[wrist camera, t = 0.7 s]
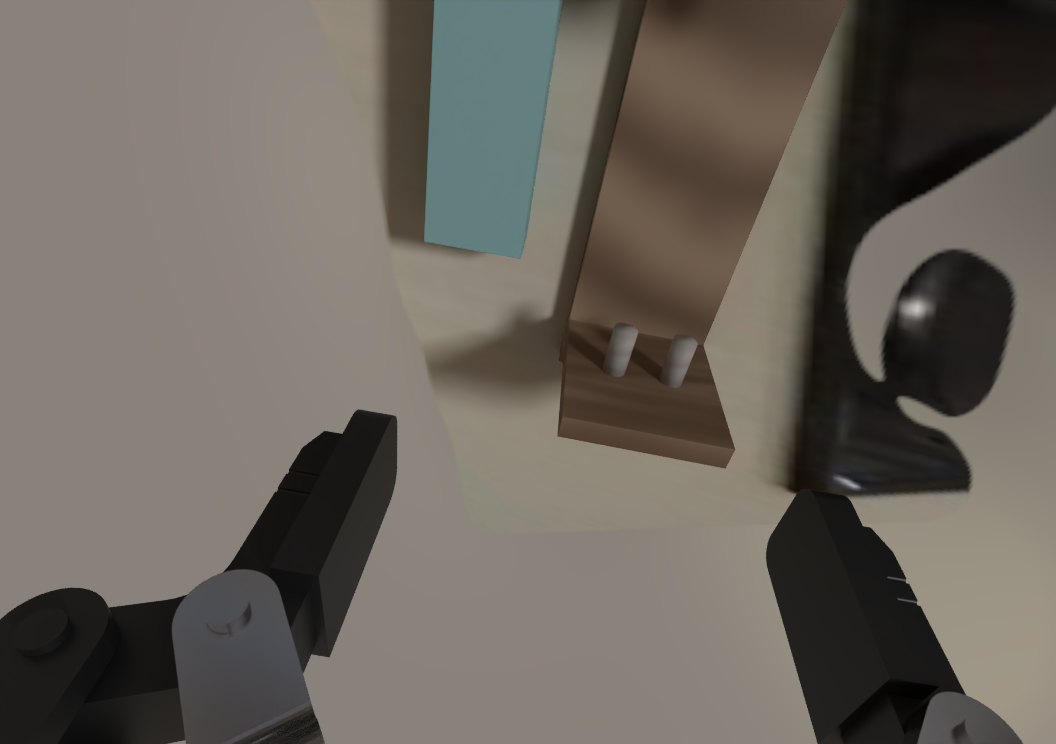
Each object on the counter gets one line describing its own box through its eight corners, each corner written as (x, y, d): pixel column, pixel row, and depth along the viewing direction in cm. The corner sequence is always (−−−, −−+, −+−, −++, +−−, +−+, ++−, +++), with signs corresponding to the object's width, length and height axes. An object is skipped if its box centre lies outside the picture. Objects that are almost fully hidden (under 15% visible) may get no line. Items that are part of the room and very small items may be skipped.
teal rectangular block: (466, -242, 21) (446, -278, 18) (596, -218, 21) (597, -250, 18) (439, 218, 32) (424, 241, 29) (527, 233, 32) (520, 258, 29)
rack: (702, -237, 20) (775, -385, 12) (915, -191, 21) (1130, -306, 12) (560, 352, 35) (550, 463, 27) (684, 376, 35) (711, 494, 27)
